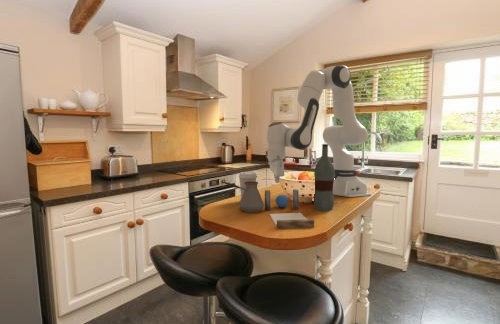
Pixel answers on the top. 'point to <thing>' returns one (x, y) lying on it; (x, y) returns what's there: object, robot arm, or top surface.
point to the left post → (267, 200)
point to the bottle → (324, 182)
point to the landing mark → (286, 217)
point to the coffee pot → (249, 197)
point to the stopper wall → (295, 223)
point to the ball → (282, 201)
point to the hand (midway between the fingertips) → (277, 182)
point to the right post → (295, 199)
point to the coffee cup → (246, 179)
